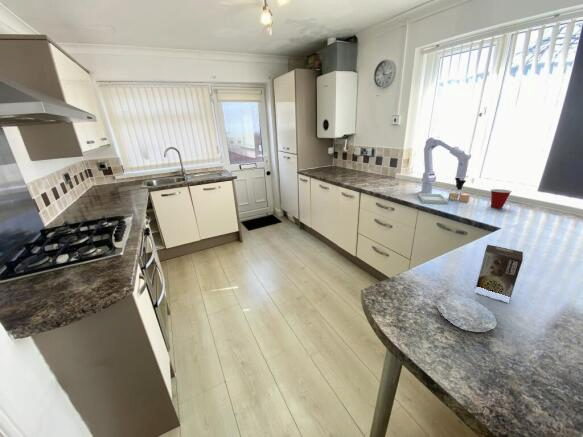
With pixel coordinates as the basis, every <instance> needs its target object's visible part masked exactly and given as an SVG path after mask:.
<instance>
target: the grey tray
mask: <svg viewBox="0 0 583 437" xmlns="http://www.w3.org/2000/svg"><path fill="white" fill-rule="evenodd" d="M417 197H418V198H419V200H420V202H422V203H423V204H440V205H441V204H442V205H447V204H449V199H447V197H445V196H444V195H443V194H442V193H432V194H424V193H420V192H419V193H418V194H417Z"/></svg>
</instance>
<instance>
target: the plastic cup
mask: <svg viewBox="0 0 583 437" xmlns="http://www.w3.org/2000/svg"><path fill="white" fill-rule="evenodd" d="M490 192H491V193H490V194H491V197H490V198H491V199H490V202H491V204H490V207H491V208H494V209H499V210H500V209H502V208H503V207H504V205H505V204H506V202H507V200H508V198H509V196H510V195H511V193H512V190H509V189H500V188H499V189H498V188H493V189H490Z"/></svg>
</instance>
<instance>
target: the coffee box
mask: <svg viewBox="0 0 583 437" xmlns="http://www.w3.org/2000/svg"><path fill="white" fill-rule="evenodd" d="M523 260H524V252H523V251H520V250H516V249H512V248H511V249H510V248H505V247H501V246H497V245H491V244H487V245H486V248H485V251H484V255H483V258H482V263H481V266H480V270H479V274H478V277H477V282H476V284H477V285H475V287H476V286H477V287H481V288H484V289H486V290H488V291H492V292H495V293H499V294H502V295H505V296H508V297H511V298H512V294H513V292H514V288H515V285H516V283H517V279H518V277H519V276H518V275H519V273H520V270H521V266H522V264H523V262H524V261H523Z"/></svg>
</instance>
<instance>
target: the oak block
mask: <svg viewBox="0 0 583 437" xmlns="http://www.w3.org/2000/svg"><path fill="white" fill-rule="evenodd" d="M459 196H460V194H459V193H458V192H453V191H450V192H449V195H448V200H450V201H458V200H459Z"/></svg>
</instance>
